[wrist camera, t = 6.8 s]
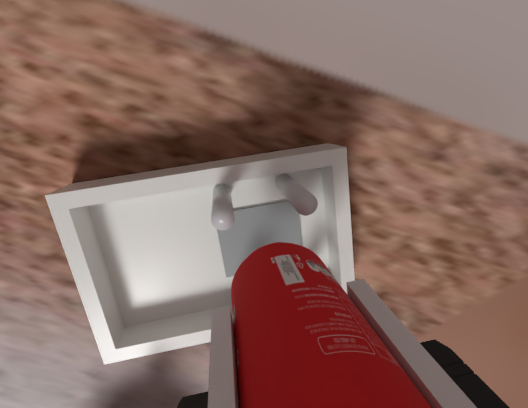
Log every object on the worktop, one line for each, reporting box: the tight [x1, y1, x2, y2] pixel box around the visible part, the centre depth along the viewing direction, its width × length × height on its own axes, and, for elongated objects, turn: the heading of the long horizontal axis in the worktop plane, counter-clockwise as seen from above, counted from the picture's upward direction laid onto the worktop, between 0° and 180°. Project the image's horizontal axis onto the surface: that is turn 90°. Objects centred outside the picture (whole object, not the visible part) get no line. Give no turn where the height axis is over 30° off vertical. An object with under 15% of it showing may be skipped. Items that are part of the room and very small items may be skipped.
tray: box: [45, 143, 355, 365], centre depth 20 cm, size 18×12×7 cm, turn 98°
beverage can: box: [231, 242, 432, 408], centre depth 11 cm, size 5×5×12 cm
